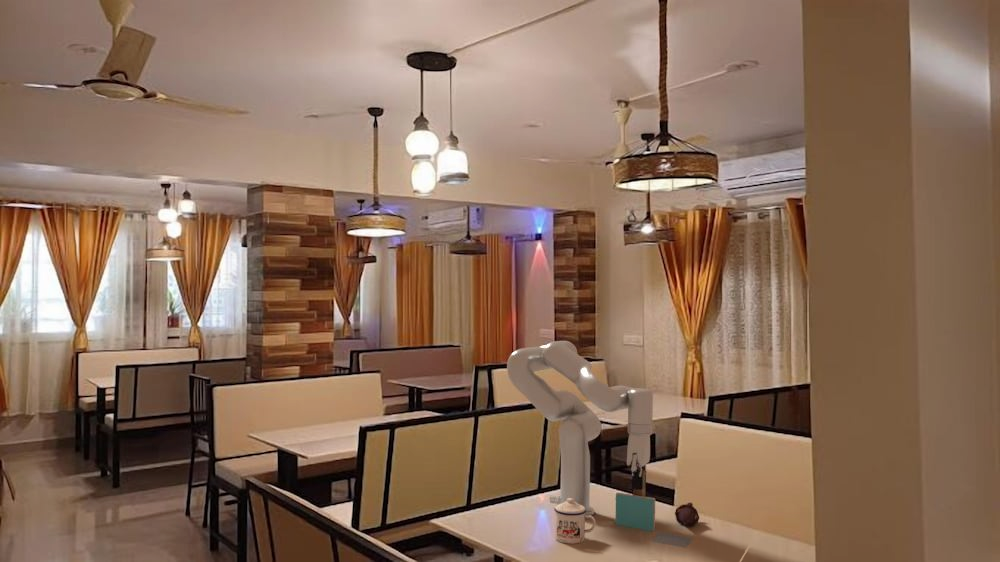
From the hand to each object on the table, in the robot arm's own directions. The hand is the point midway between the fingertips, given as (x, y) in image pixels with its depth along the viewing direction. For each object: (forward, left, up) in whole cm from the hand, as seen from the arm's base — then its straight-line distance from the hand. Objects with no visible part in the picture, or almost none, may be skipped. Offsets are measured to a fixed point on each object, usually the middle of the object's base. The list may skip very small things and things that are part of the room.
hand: (639, 487), depth 223 cm
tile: (0, -4, -7) cm, 8 cm away
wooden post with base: (0, 0, -7) cm, 7 cm away
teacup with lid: (-12, -23, -12) cm, 28 cm away
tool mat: (+13, -9, -12) cm, 20 cm away
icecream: (+13, +7, -12) cm, 19 cm away
